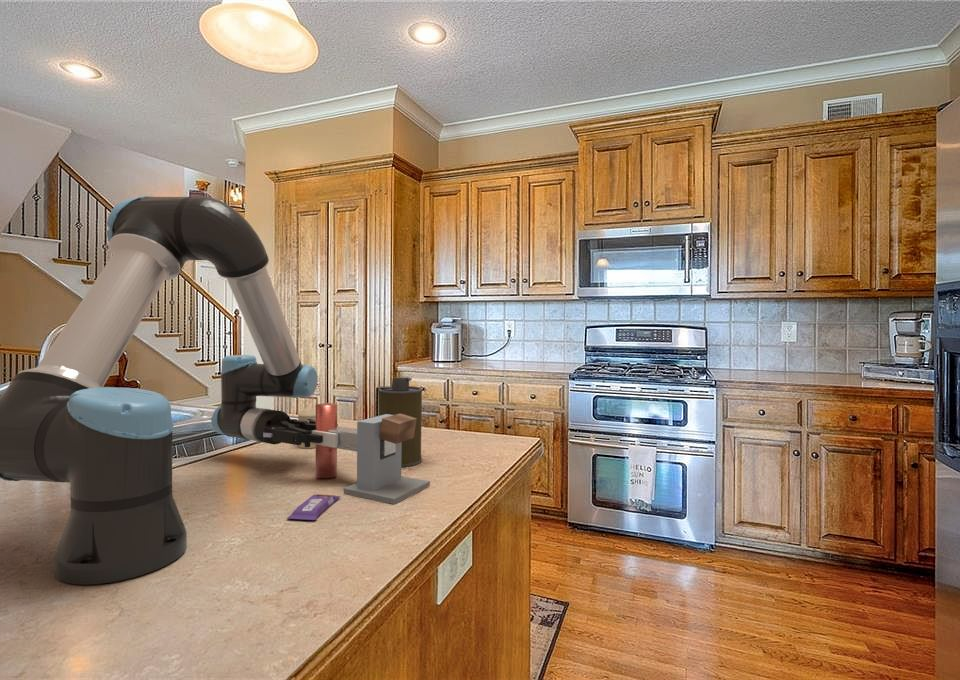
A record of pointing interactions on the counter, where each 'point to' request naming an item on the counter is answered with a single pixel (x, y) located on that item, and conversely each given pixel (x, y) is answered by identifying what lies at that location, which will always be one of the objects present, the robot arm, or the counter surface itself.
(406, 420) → the bar
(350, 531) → the counter surface
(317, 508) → the snack package
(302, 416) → the candle
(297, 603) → the counter surface
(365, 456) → the grey holder stand
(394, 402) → the canister
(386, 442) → the shaft
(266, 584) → the counter surface
